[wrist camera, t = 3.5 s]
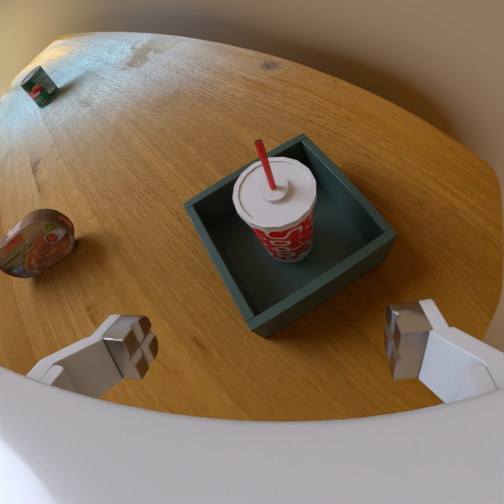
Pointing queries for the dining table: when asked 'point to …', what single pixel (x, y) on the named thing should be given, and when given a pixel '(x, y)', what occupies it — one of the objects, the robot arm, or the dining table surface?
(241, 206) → the beverage cup
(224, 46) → the dining table surface
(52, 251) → the tin
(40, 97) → the canned tomato
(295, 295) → the bin
